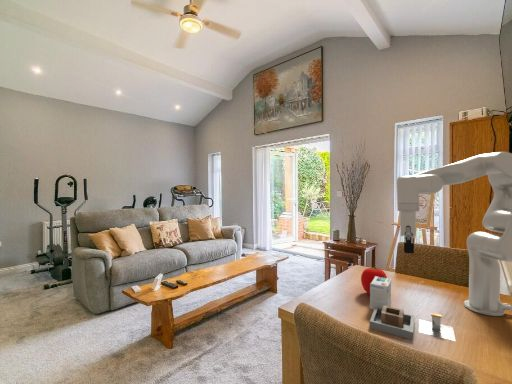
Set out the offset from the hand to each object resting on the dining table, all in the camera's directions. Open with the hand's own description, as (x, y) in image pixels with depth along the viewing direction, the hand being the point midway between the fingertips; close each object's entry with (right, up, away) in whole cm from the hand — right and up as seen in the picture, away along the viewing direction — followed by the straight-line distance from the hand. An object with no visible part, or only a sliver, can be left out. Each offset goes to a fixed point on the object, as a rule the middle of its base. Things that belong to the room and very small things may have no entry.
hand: (409, 250), depth 104 cm
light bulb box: (-8, -25, +6) cm, 27 cm away
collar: (-12, -24, -11) cm, 29 cm away
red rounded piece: (-6, -25, +17) cm, 31 cm away
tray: (-12, -25, -11) cm, 30 cm away
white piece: (+1, -26, -14) cm, 29 cm away
